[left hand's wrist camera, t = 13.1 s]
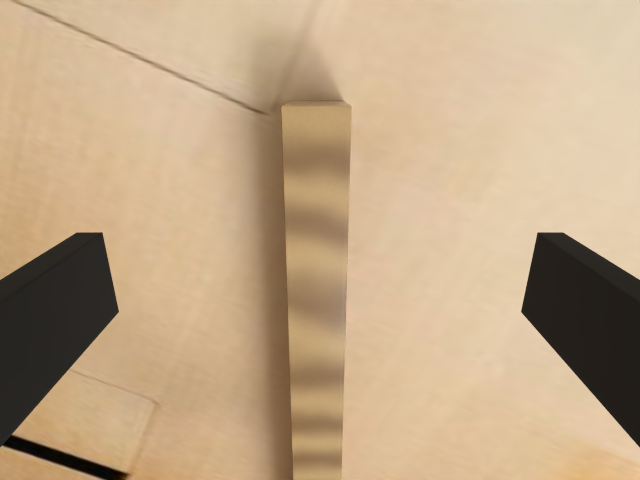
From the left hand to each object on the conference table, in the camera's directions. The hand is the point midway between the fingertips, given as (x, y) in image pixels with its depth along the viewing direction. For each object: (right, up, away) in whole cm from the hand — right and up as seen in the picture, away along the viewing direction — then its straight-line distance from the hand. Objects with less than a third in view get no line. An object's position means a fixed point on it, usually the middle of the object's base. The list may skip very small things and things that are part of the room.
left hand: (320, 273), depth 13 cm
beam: (0, -12, +34) cm, 36 cm away
